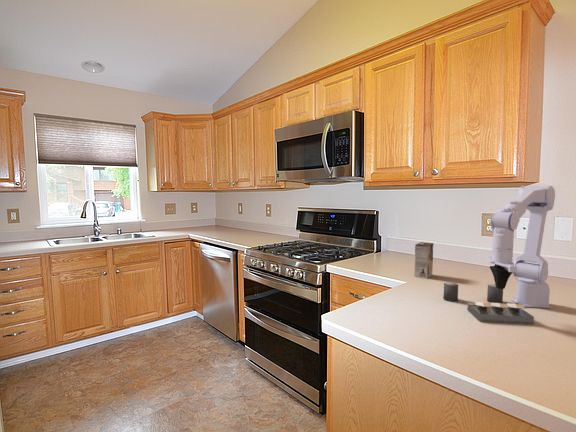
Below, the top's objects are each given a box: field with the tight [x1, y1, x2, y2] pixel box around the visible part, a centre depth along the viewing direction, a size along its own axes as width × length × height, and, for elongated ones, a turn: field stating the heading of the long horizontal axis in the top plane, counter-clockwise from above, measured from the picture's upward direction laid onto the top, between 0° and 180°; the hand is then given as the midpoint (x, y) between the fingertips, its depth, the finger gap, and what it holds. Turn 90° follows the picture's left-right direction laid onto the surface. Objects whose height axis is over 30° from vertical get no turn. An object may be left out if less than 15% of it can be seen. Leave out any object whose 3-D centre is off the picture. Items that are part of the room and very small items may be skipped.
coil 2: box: [486, 283, 504, 304], centre depth 125 cm, size 5×5×6 cm
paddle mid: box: [491, 302, 508, 308], centre depth 110 cm, size 6×2×1 cm, turn 172°
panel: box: [466, 302, 535, 325], centre depth 110 cm, size 16×10×3 cm, turn 82°
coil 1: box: [442, 281, 459, 303], centre depth 127 cm, size 5×5×6 cm
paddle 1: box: [475, 301, 491, 307], centre depth 111 cm, size 6×2×1 cm, turn 172°
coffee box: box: [414, 241, 435, 279], centre depth 162 cm, size 9×6×16 cm
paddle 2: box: [506, 302, 526, 309], centre depth 110 cm, size 6×2×1 cm, turn 172°
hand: (500, 288), depth 110 cm, fingers closed
